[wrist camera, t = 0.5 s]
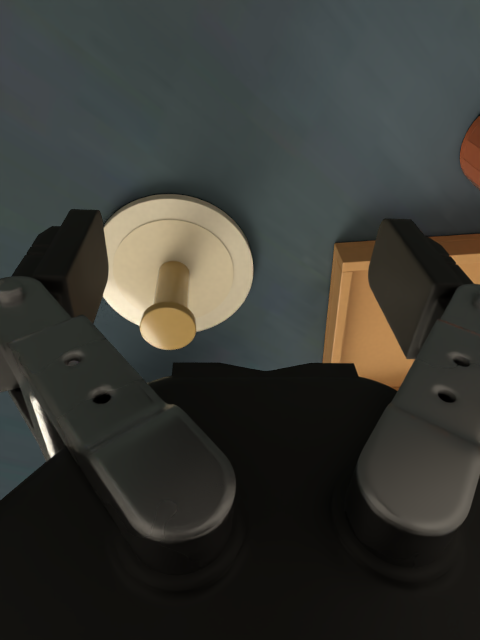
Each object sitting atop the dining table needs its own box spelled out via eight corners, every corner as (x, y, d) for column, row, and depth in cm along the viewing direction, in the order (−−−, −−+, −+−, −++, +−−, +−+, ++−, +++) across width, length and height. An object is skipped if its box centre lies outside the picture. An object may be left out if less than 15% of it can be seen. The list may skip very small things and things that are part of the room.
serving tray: (334, 242, 34) (343, 262, 32) (656, 221, 34) (686, 239, 32) (319, 390, 44) (325, 413, 42) (565, 373, 45) (583, 395, 42)
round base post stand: (74, 199, 31) (44, 255, 25) (250, 188, 31) (259, 240, 25) (113, 332, 38) (97, 398, 33) (254, 322, 38) (262, 386, 33)
